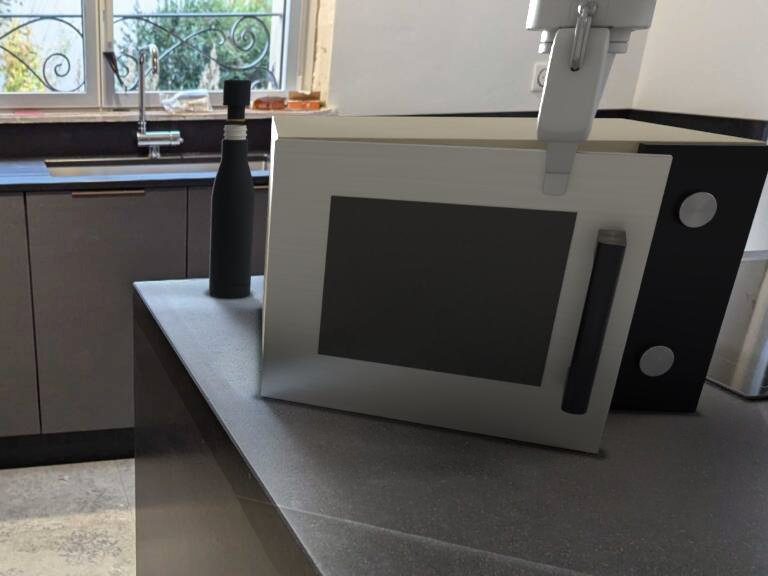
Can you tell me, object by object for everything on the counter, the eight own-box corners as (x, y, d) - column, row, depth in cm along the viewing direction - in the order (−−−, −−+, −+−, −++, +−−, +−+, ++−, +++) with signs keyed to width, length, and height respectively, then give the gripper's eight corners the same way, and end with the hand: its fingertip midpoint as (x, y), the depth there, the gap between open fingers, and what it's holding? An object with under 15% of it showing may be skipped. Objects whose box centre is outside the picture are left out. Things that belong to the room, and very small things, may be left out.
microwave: (699, 416, 83) (782, 144, 72) (262, 399, 87) (277, 138, 76) (577, 318, 115) (622, 118, 104) (262, 309, 119) (272, 115, 108)
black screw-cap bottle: (200, 294, 126) (205, 80, 113) (222, 285, 131) (229, 79, 118) (236, 300, 123) (245, 81, 110) (257, 291, 128) (268, 80, 115)
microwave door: (596, 484, 70) (678, 165, 59) (238, 417, 82) (249, 145, 71) (597, 447, 76) (671, 154, 65) (265, 391, 89) (279, 138, 78)
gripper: (641, -5, 53) (594, 213, 59) (633, 10, 70) (596, 180, 76) (537, -3, 56) (501, 207, 62) (553, 12, 73) (524, 176, 78)
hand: (554, 192), depth 69 cm, fingers closed on microwave door, 2 cm apart
